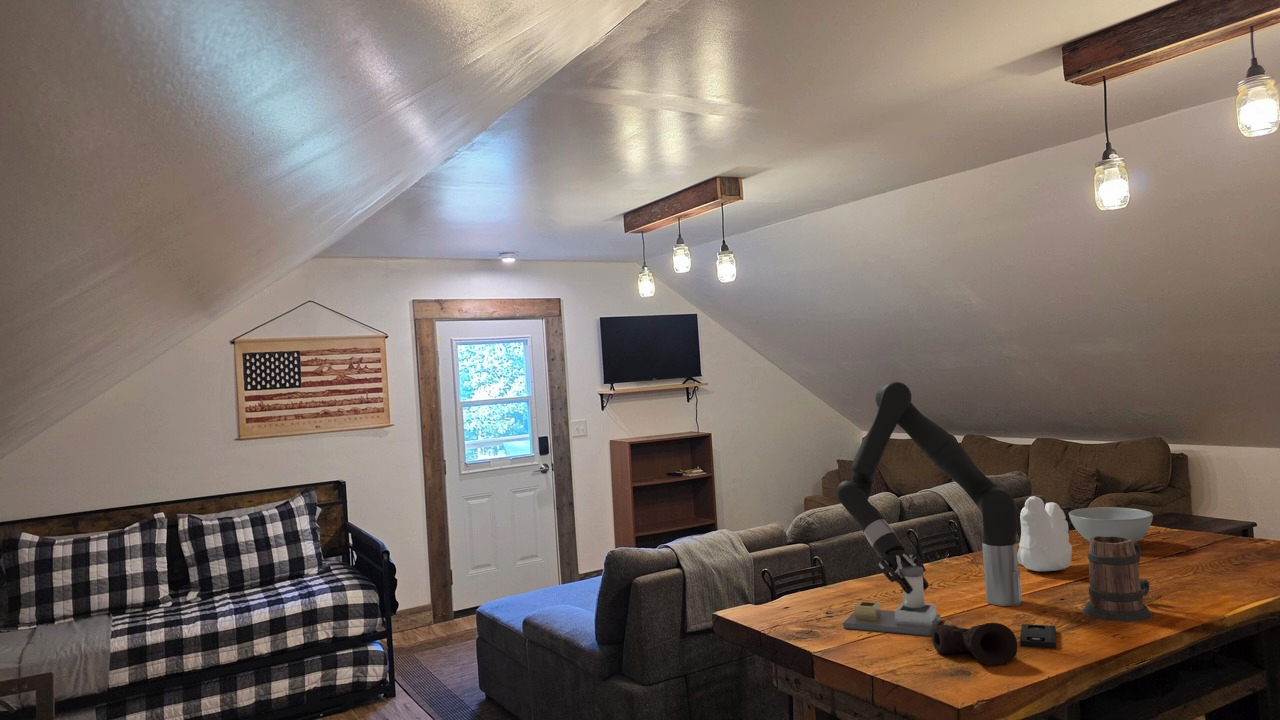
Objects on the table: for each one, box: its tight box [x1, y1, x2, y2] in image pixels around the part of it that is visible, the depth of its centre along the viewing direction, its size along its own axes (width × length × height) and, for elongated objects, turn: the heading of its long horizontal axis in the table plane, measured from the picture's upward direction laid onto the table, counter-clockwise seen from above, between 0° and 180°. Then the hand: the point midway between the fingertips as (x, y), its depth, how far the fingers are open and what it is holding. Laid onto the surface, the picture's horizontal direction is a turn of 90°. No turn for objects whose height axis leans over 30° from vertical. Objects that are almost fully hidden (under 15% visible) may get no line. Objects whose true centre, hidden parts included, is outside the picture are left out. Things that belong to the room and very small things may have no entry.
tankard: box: [1081, 536, 1154, 623], centre depth 231 cm, size 24×17×20 cm
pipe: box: [931, 622, 1018, 667], centre depth 203 cm, size 10×15×15 cm
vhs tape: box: [1019, 623, 1057, 650], centre depth 212 cm, size 14×8×2 cm, turn 154°
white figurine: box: [1017, 495, 1073, 572], centre depth 280 cm, size 25×16×25 cm, turn 116°
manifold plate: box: [842, 600, 942, 637], centre depth 232 cm, size 23×15×5 cm, turn 60°
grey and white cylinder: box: [901, 565, 926, 608], centre depth 229 cm, size 6×6×10 cm
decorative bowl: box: [1068, 506, 1154, 543], centre depth 306 cm, size 27×27×12 cm
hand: (918, 590), depth 227 cm, fingers closed on grey and white cylinder, 5 cm apart
